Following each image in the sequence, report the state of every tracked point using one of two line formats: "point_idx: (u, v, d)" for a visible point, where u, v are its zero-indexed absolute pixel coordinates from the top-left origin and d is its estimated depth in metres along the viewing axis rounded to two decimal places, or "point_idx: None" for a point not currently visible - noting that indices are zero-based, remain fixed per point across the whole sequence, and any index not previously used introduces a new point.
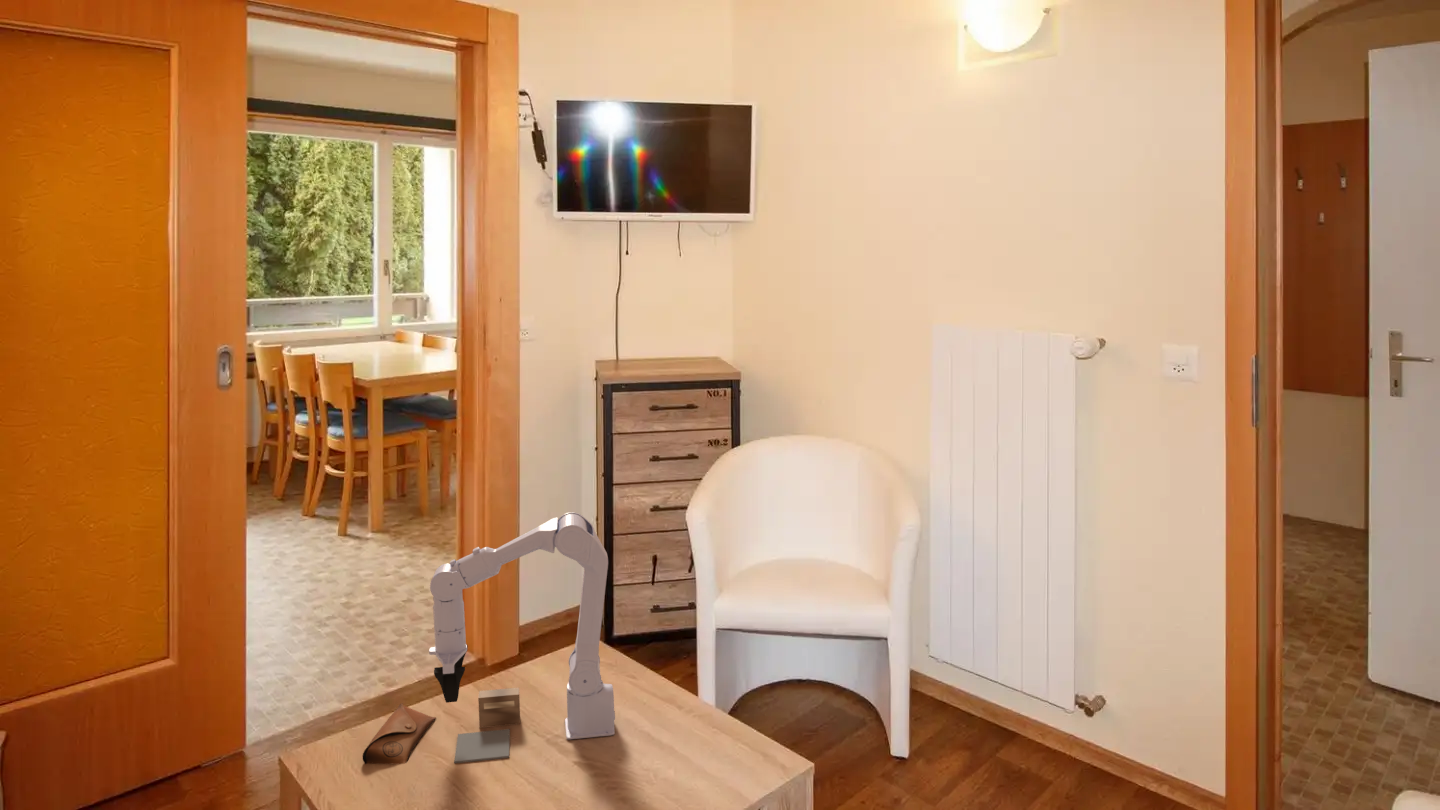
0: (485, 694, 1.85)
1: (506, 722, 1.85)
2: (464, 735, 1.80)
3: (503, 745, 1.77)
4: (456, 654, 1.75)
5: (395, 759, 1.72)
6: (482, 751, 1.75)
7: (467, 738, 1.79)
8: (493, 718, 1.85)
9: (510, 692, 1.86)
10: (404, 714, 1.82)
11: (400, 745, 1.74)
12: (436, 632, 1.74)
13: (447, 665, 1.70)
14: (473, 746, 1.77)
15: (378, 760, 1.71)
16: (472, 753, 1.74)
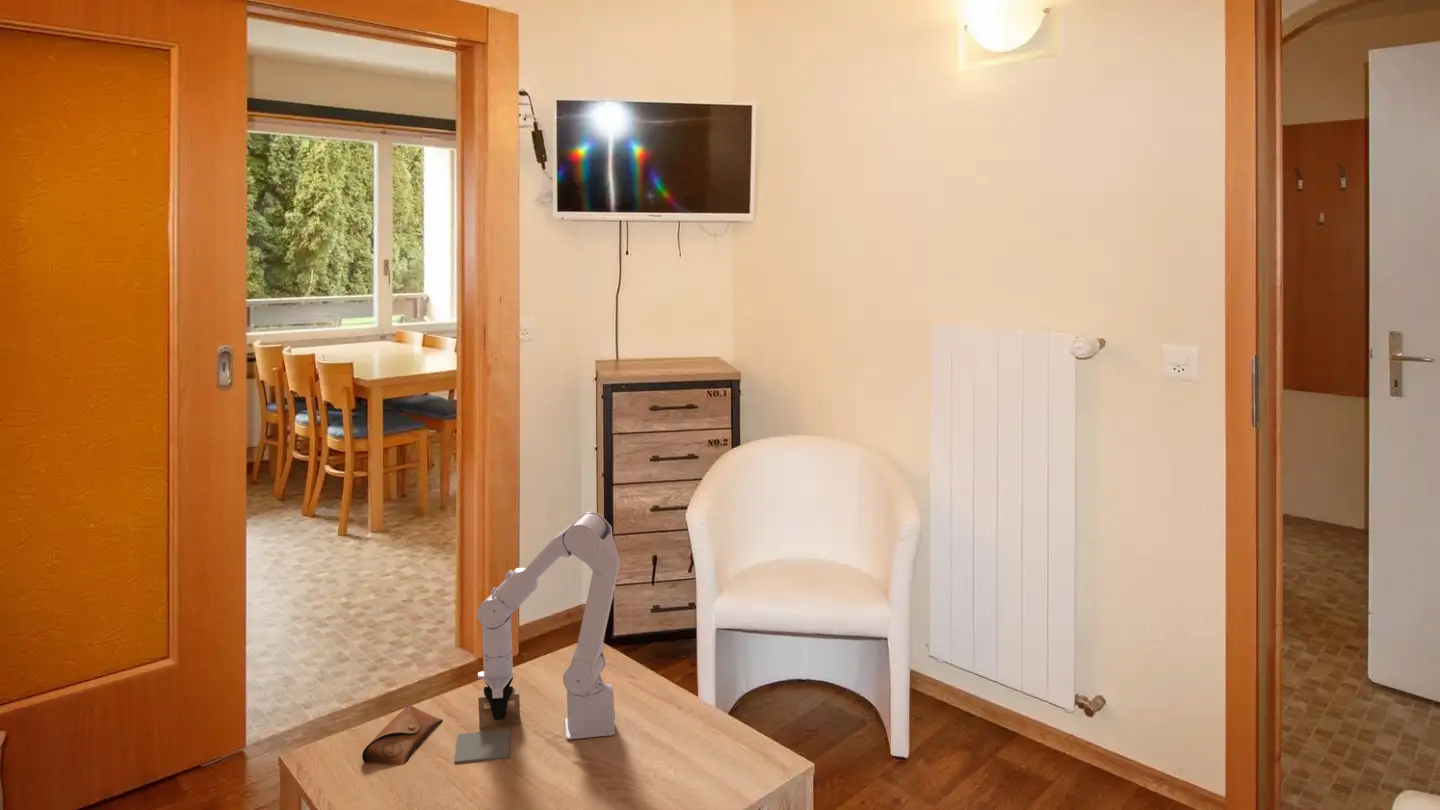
0: None
1: (506, 721, 1.85)
2: (464, 735, 1.80)
3: (503, 745, 1.77)
4: (504, 679, 1.82)
5: (393, 760, 1.71)
6: (482, 751, 1.75)
7: (467, 738, 1.79)
8: (493, 718, 1.85)
9: None
10: (409, 715, 1.82)
11: (400, 746, 1.74)
12: (485, 658, 1.82)
13: (496, 690, 1.78)
14: (473, 746, 1.77)
15: (377, 760, 1.71)
16: (472, 753, 1.74)
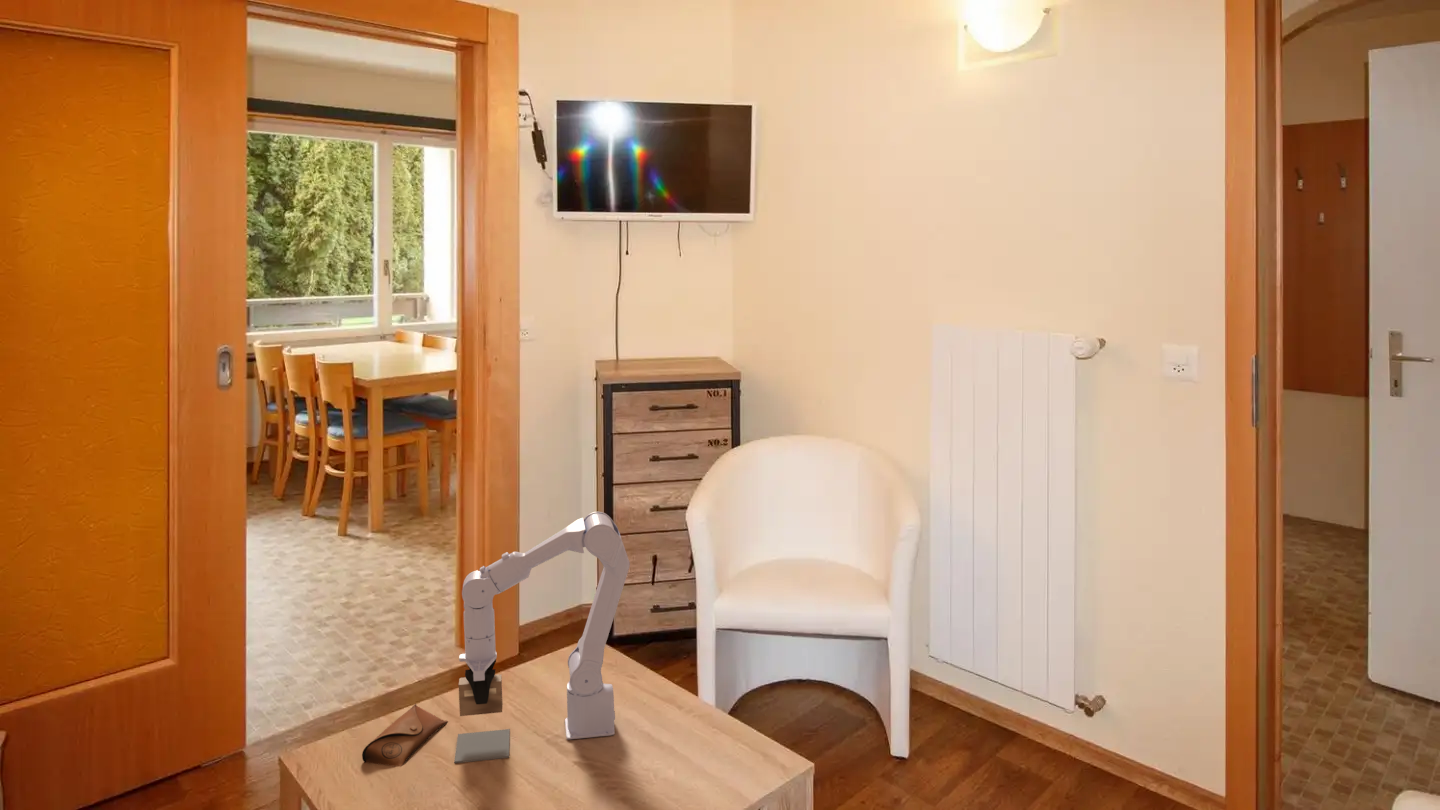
0: (466, 681, 1.77)
1: (488, 710, 1.78)
2: (464, 735, 1.80)
3: (503, 745, 1.77)
4: (486, 661, 1.75)
5: (392, 761, 1.71)
6: (482, 751, 1.75)
7: (467, 738, 1.79)
8: (474, 706, 1.77)
9: None
10: (413, 715, 1.82)
11: (400, 746, 1.74)
12: (466, 639, 1.75)
13: (478, 672, 1.70)
14: (473, 746, 1.77)
15: (376, 760, 1.71)
16: (472, 753, 1.74)
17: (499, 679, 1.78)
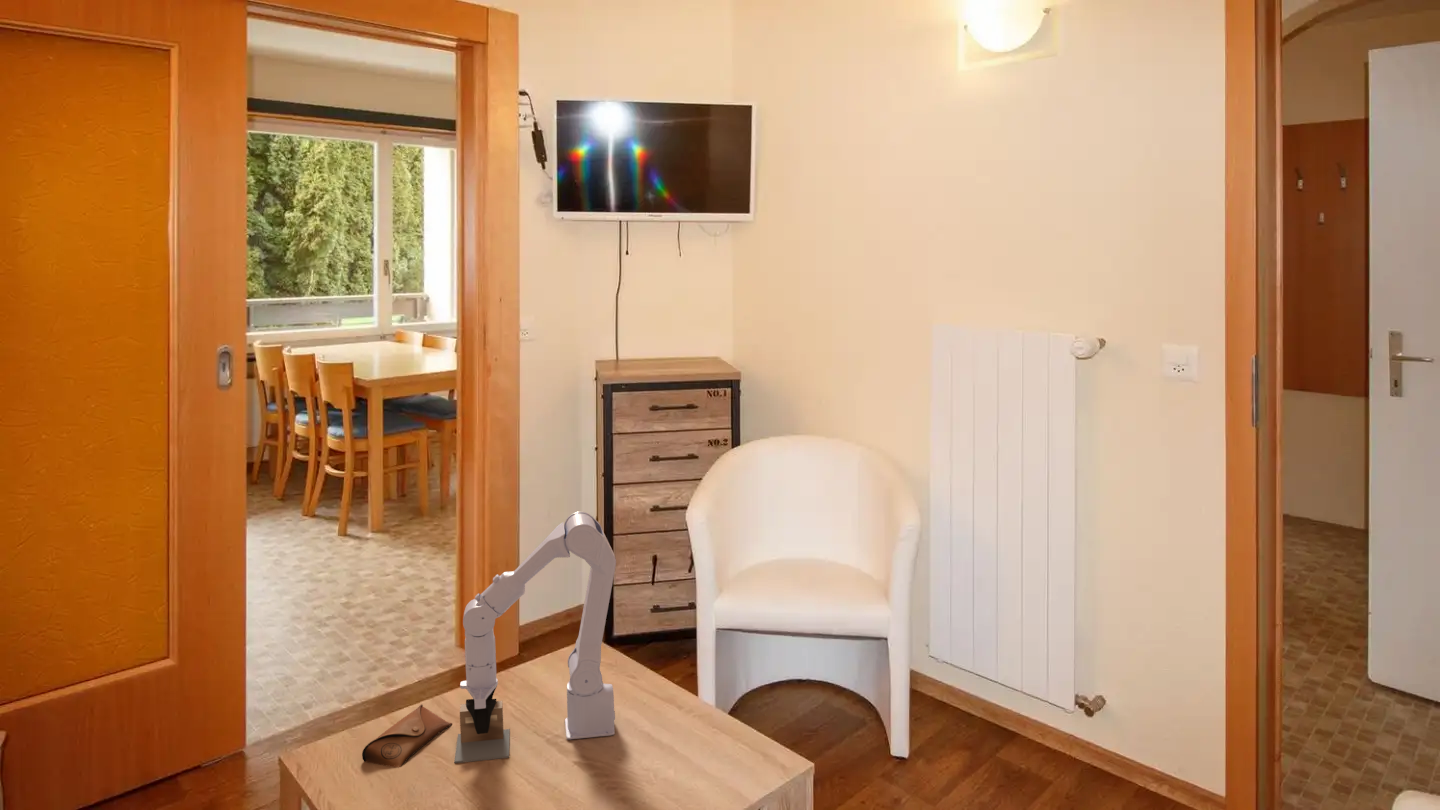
0: None
1: (489, 736, 1.79)
2: None
3: (503, 745, 1.77)
4: (487, 688, 1.76)
5: (390, 761, 1.71)
6: (482, 751, 1.75)
7: None
8: (475, 732, 1.78)
9: None
10: (417, 716, 1.82)
11: (400, 747, 1.73)
12: (467, 666, 1.76)
13: (479, 700, 1.71)
14: (473, 746, 1.77)
15: (375, 760, 1.71)
16: (472, 753, 1.74)
17: (500, 706, 1.79)
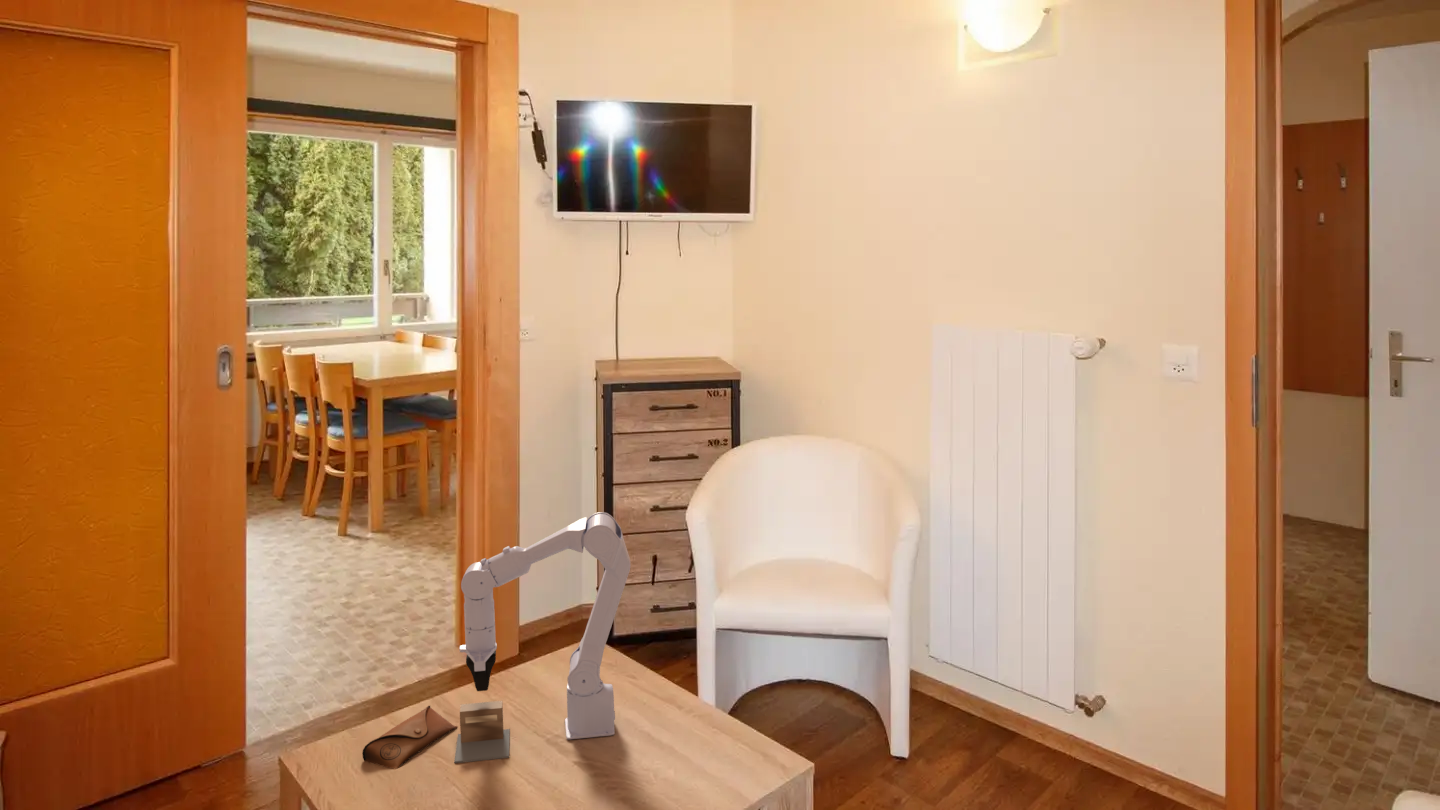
0: (467, 707, 1.78)
1: (489, 736, 1.79)
2: None
3: (503, 745, 1.77)
4: (486, 652, 1.77)
5: (388, 762, 1.70)
6: (482, 751, 1.75)
7: None
8: (475, 732, 1.78)
9: (493, 705, 1.79)
10: (421, 717, 1.81)
11: (400, 749, 1.73)
12: (467, 630, 1.76)
13: (479, 663, 1.72)
14: (473, 746, 1.77)
15: (374, 760, 1.71)
16: (472, 753, 1.74)
17: (500, 706, 1.79)
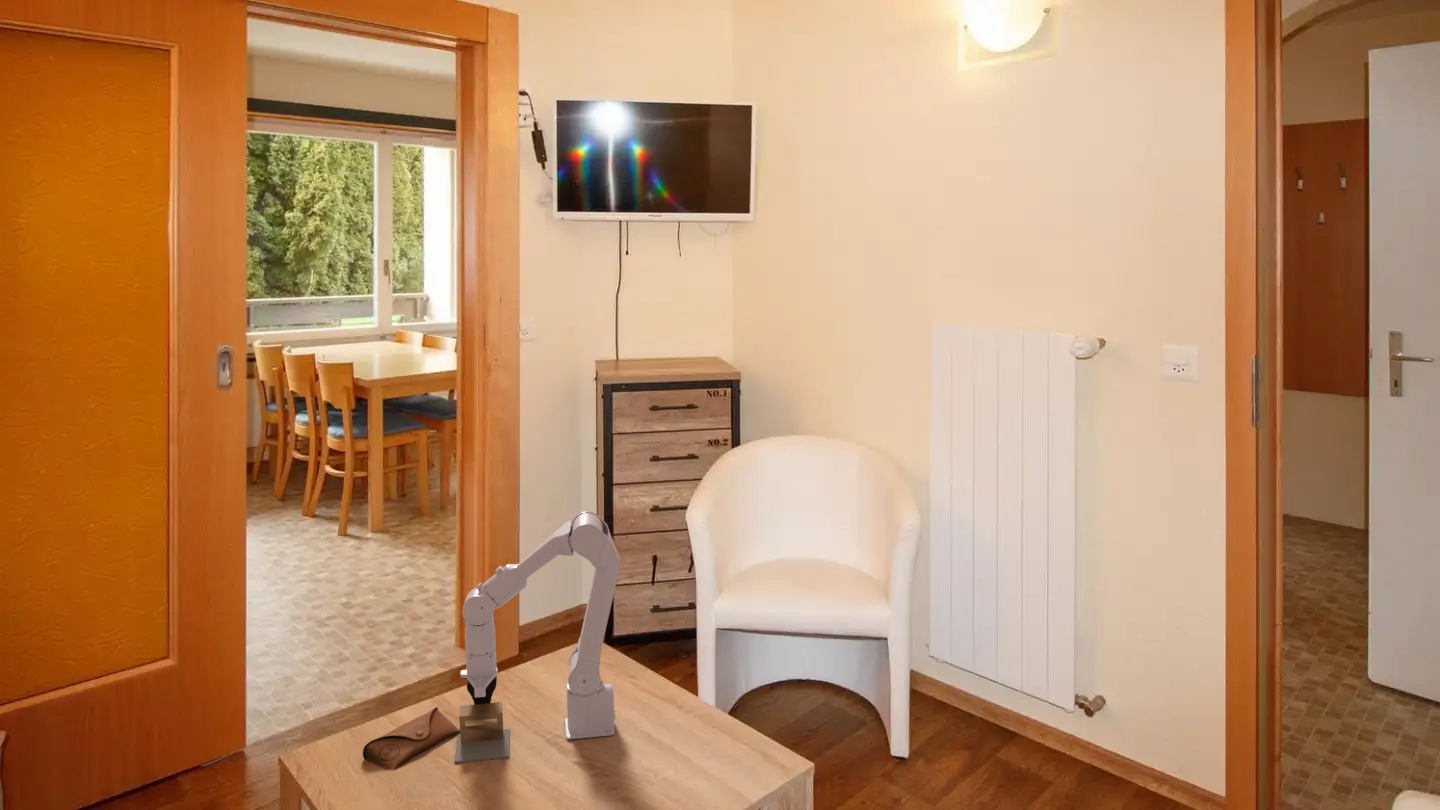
0: (467, 711, 1.77)
1: (489, 737, 1.79)
2: None
3: (503, 745, 1.77)
4: (487, 677, 1.77)
5: (386, 763, 1.70)
6: (482, 751, 1.75)
7: None
8: (475, 734, 1.78)
9: (492, 708, 1.78)
10: (426, 719, 1.81)
11: (399, 750, 1.73)
12: (468, 655, 1.77)
13: (479, 689, 1.72)
14: (473, 746, 1.77)
15: (373, 760, 1.71)
16: (472, 753, 1.74)
17: (500, 709, 1.78)
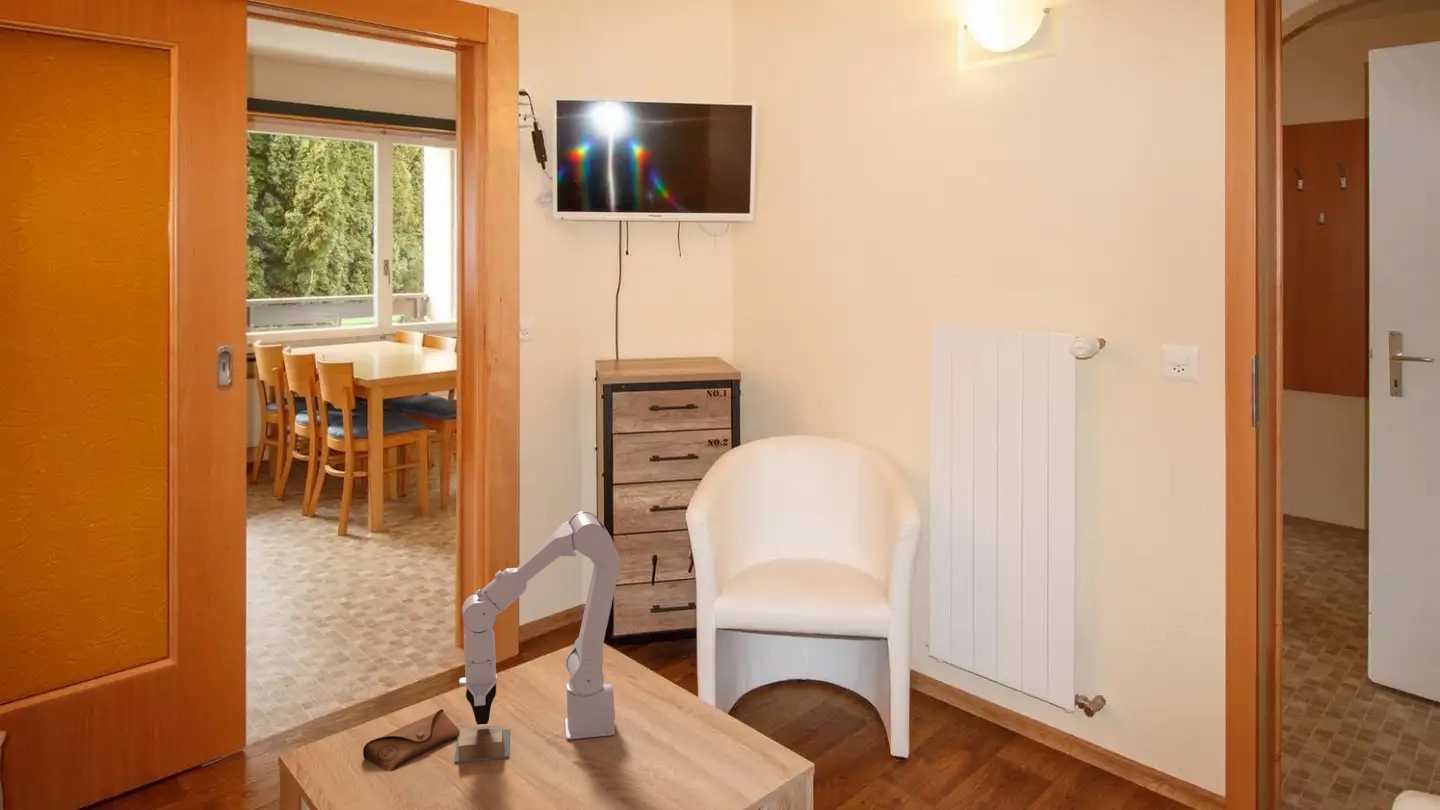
0: (466, 753, 1.72)
1: None
2: None
3: (503, 745, 1.77)
4: (487, 685, 1.74)
5: (384, 764, 1.70)
6: None
7: None
8: None
9: (492, 750, 1.73)
10: (428, 721, 1.80)
11: (397, 751, 1.72)
12: (467, 663, 1.74)
13: (478, 697, 1.69)
14: None
15: (372, 759, 1.71)
16: None
17: (500, 752, 1.73)
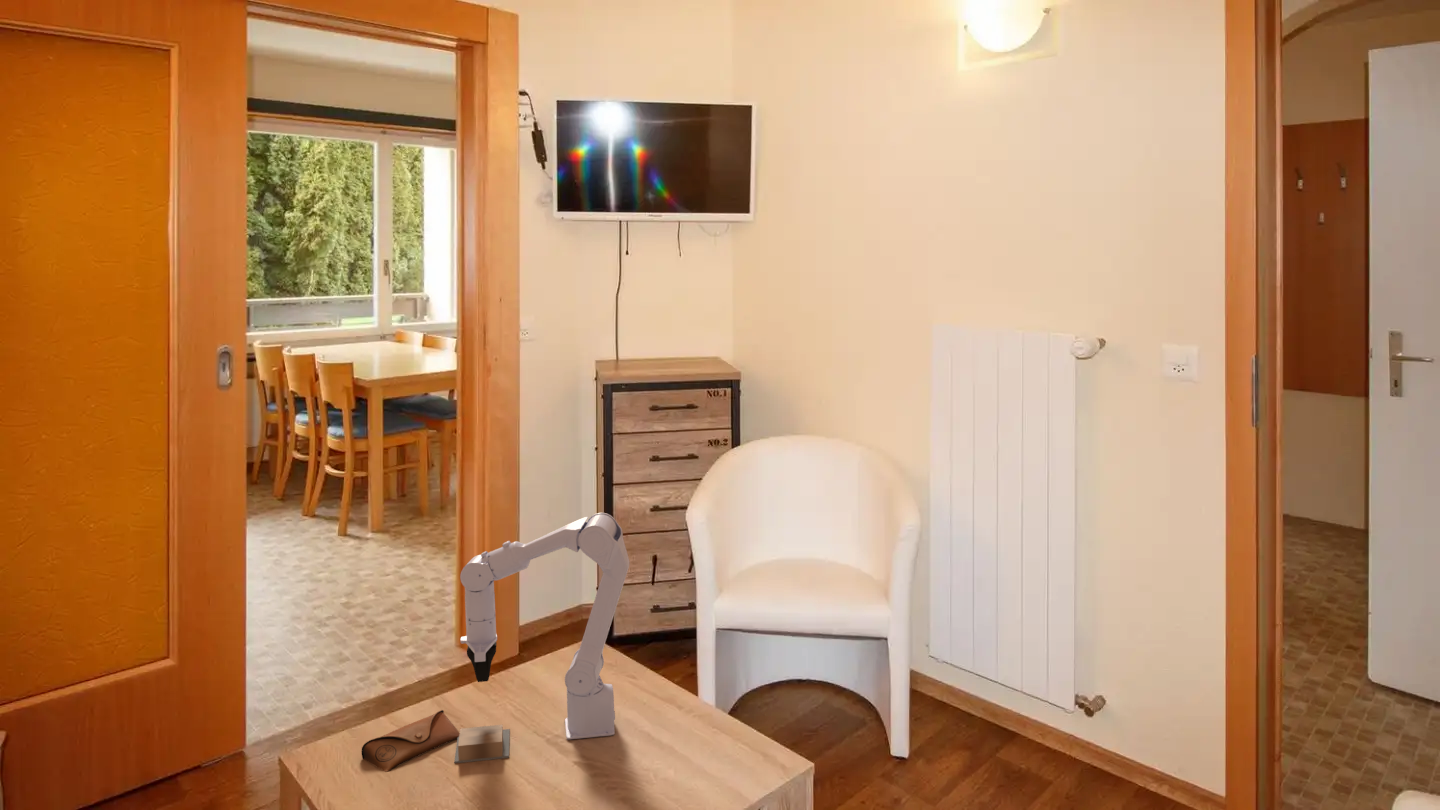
0: (466, 753, 1.72)
1: None
2: None
3: (503, 745, 1.77)
4: (487, 643, 1.79)
5: (381, 764, 1.70)
6: None
7: None
8: None
9: (492, 750, 1.73)
10: (427, 722, 1.80)
11: (395, 752, 1.72)
12: (468, 621, 1.79)
13: (479, 653, 1.75)
14: None
15: (370, 759, 1.71)
16: None
17: (500, 752, 1.73)
